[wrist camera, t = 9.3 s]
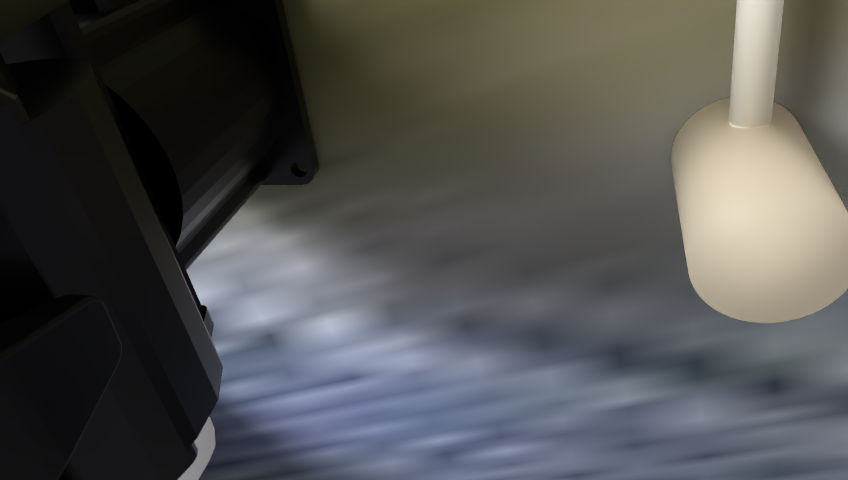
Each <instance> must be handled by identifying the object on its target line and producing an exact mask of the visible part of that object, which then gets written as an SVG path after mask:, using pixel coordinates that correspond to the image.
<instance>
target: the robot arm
mask: <svg viewBox="0 0 848 480" xmlns="http://www.w3.org/2000/svg"><path fill="white" fill-rule="evenodd" d="M296 162H298V163H301V164H303V165H304V166H305V168H306V170H307V171H301V170H300V169H298V168H297V166H296ZM318 170H319V163H318V159H317V155H316V150H315V146H314V141H313V137H312V132H311V128H310V124H309V119H308V115H307V110H306V106H305V102H304V97H303V93H302V88H301V84H300V79H299V75H298V71H297V66H296V62H295V57H294V53H293V49H292V44H291V40H290V35H289V31H288V26H287V22H286V18H285V13H284V9H283V4H282V0H0V480H178V479H179V478H180V477H181V476H182V475H183V473H184V472H185V471H186V470H187V469H188V468H189V467H190V466H191V465H192V464H193V462H194V461H195V459H196V457H197V453H198V449H197V447H196V445H195V443H194V441H195V440H196V439H197V437H198V436H199V434H200V432H201V430H202V428H203V426H204V425H205V423H206V421H207V419H208V417H209V415H210V414H211V412H212V410H213V408H214V406H215V404H216V402H217V401H218V398H219V391H220V383H221V376H222V369H223V367H222V364H221V362H220V359H219V357H218V354H217V352H216V349H215V347H214V344H213V342H212V340H211V336H212V331H213V327H214V323H213V321H212V319H211V316H210V314H209V312H208V310H207V307H206V306H204V305H201V304H200V301H199V299H198V297H197V295H196V292H195V290H194V288H193V285H192V283H191V281H190V278H189V276H188V274H187V272H186V270H187V269H188V268H189V266H190V265H191V264H192V263H193V262H194V261H195V260H196V258H197V257H198V256H199V255H200V254H201V253H202V252H203V250H204V249H205V248H206V247H207V246H208V245H209V243H210V242H211V241H212V240H213V239H214V238H215V237H216V235H217V234H218V233H219V232H220V231H221V230H222V229H223V227H224V226H225V225H226V224H227V223H228V222H229V221H230V219H231V218H232V217H233V216H234V215H235V214H236V213H237V211H238V210H239V209H240V208H241V207H242V206H243V205H244V203H245V202H246V201H247V200H248V199H249V198H250V197H251V195H252V194H253V193H254V192H255V191H256V190H257V188H258V187H259V186H260V185H303V184H308V183H309V182H310V181H312V180H313V178H314V177H315V176H316V174H317V172H318Z"/></svg>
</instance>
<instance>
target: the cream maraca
mask: <svg viewBox="0 0 848 480" xmlns="http://www.w3.org/2000/svg"><path fill="white" fill-rule="evenodd" d="M783 5H784V0H737V9H736V23H735V37H734V52H733V66H732V80H731V94H730V97H729V98H725V99H721V100H718V101H716V102H713V103H711V104H709V105H707V106H705V107H703V108H702V109H700V110H699V111H697V112H696V113H695V114H693V115H692V116H691V117H690V118H689V119H688V120H687V121H686V122H685V123H684V125H683V126H682V127H681V129H680V130H679V132H678V134H677V135H676V137H675V140H674V142H673V146H672V150H671V166H672V173H673V179H674V185H675V192H676V198H677V204H678V210H679V217H680V223H681V229H682V236H683V242H684V248H685V255H686V261H687V267H688V273H689V277H690V280H691V283H692V285H693V287H694V289H695V291H696V292H697V294H698V295H699V296H700V297H701V298H702V300H703V301H705V302H706V303H707V304H708V305H709V306H710V307H712V308H713V309H715V310H716V311H718V312H720V313H722V314H724V315H726V316H729V317H732V318H734V319H738V320H742V321H747V322H754V323H778V322H786V321H791V320H795V319H799V318H802V317H805V316H808V315H811V314H813V313H815V312H818V311H819V310H821V309H823V308H825V307H827V306H828V305H830V304H831V303H832V302H834V301H835V300H836V299H838V298H839V297H840V296H841V295H842V294H843V293H844V292H845V291H846V290H847V289H848V211H847V210H846V208H845V206H844V204H843V202H842V201H841V199H840V197H839V195H838V193H837V192H836V190H835V188H834V186H833V184H832V183H831V181H830V179H829V177H828V175H827V174H826V172H825V170H824V168H823V166H822V165H821V163H820V161H819V159H818V157H817V156H816V154H815V152H814V150H813V148H812V147H811V145H810V143H809V141H808V139H807V138H806V136H805V134H804V132H803V130H802V129H801V127H800V125H799V123H798V122H797V120H796V119H795V117H794V116H793V115H792V114H791V113H790V112H789V111H788V110H787V109H786V108H784V107H783V106H782V105H780V104H778V103H776V102H774V91H775V82H776V72H777V63H778V53H779V44H780V34H781V24H782V15H783Z"/></svg>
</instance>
